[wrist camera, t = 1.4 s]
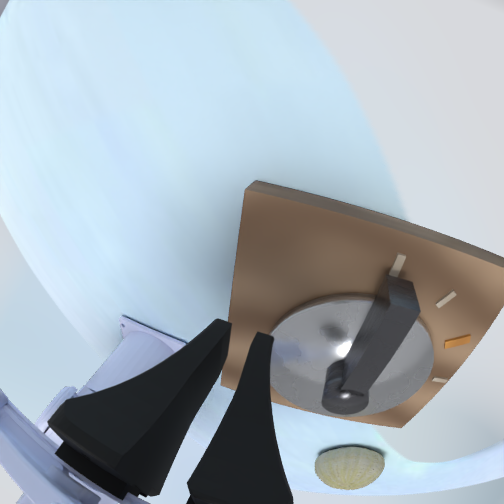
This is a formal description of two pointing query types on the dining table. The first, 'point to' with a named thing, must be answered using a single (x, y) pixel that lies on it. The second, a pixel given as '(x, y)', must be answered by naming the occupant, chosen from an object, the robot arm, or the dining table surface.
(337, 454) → the sea urchin shell
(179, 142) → the dining table surface
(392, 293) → the dial
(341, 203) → the dial base
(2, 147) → the dining table surface
